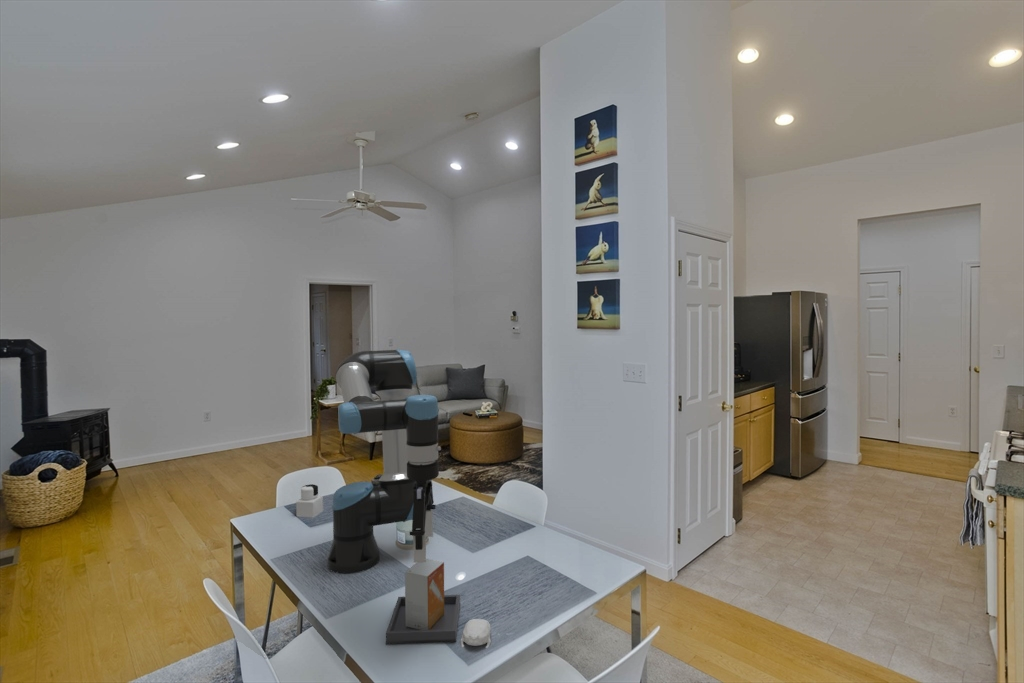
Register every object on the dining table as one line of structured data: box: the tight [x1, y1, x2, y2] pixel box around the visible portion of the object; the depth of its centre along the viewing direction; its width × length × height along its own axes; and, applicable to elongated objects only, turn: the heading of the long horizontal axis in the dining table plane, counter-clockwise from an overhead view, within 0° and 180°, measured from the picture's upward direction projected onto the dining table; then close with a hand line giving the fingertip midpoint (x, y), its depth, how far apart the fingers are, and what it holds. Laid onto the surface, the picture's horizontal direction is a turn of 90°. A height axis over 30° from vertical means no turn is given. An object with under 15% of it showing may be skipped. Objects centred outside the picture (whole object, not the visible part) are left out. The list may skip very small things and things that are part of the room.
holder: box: [385, 594, 461, 645], centre depth 120 cm, size 16×16×2 cm
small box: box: [404, 558, 445, 630], centre depth 120 cm, size 8×6×13 cm
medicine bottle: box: [295, 484, 324, 519], centre depth 191 cm, size 7×7×12 cm
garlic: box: [460, 618, 492, 649], centre depth 114 cm, size 8×7×4 cm
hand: (423, 548), depth 120 cm, fingers open, 13 cm apart
